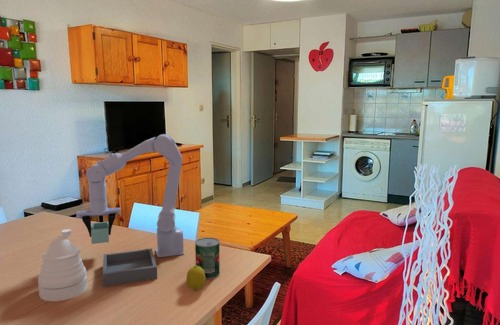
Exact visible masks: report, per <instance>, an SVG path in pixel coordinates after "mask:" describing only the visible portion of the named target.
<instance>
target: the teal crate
mask: <svg viewBox="0 0 500 325" xmlns="http://www.w3.org/2000/svg"><path fill="white" fill-rule="evenodd" d="M90 240H91V245H93V244H94V245H95V244H105V243H109V242H110V235H109V222H108V221H103V222H91V237H90Z"/></svg>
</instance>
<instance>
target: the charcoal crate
mask: <svg viewBox="0 0 500 325" xmlns="http://www.w3.org/2000/svg"><path fill="white" fill-rule="evenodd" d="M102 258H103V259H102V260H103V261H102V262H103V263H102V286H103V288H104V287H105V288H106V287H111V286H117V285H124V284H125V285H126V284H130V283H131V284H132V283H137V282H143V281H149V280H150V281H151V280H157V279H158V268H157V262H156V258H155V255H154V252H153V248H145V249H137V250H129V251H122V252H115V253H105V254H103V256H102Z"/></svg>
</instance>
